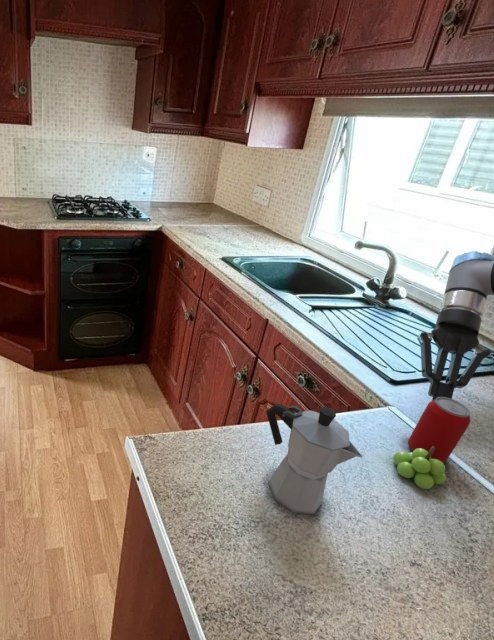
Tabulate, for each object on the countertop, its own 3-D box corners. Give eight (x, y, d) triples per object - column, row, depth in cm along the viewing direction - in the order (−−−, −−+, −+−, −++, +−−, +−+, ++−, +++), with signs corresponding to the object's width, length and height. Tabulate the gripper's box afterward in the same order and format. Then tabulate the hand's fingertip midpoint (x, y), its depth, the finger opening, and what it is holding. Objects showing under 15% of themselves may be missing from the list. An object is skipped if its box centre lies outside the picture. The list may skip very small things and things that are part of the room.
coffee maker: (341, 503, 68) (382, 422, 60) (320, 534, 63) (362, 449, 55) (262, 450, 78) (288, 373, 70) (237, 473, 72) (263, 392, 64)
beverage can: (441, 447, 83) (468, 401, 78) (449, 470, 78) (480, 423, 72) (403, 435, 85) (428, 390, 80) (409, 457, 80) (436, 409, 75)
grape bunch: (429, 464, 78) (446, 436, 75) (450, 498, 72) (470, 468, 68) (385, 455, 80) (400, 427, 76) (402, 487, 73) (419, 458, 69)
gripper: (487, 330, 91) (465, 428, 86) (420, 312, 97) (394, 403, 91) (505, 317, 85) (482, 423, 79) (432, 299, 90) (405, 397, 85)
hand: (435, 412), depth 85 cm, fingers closed
